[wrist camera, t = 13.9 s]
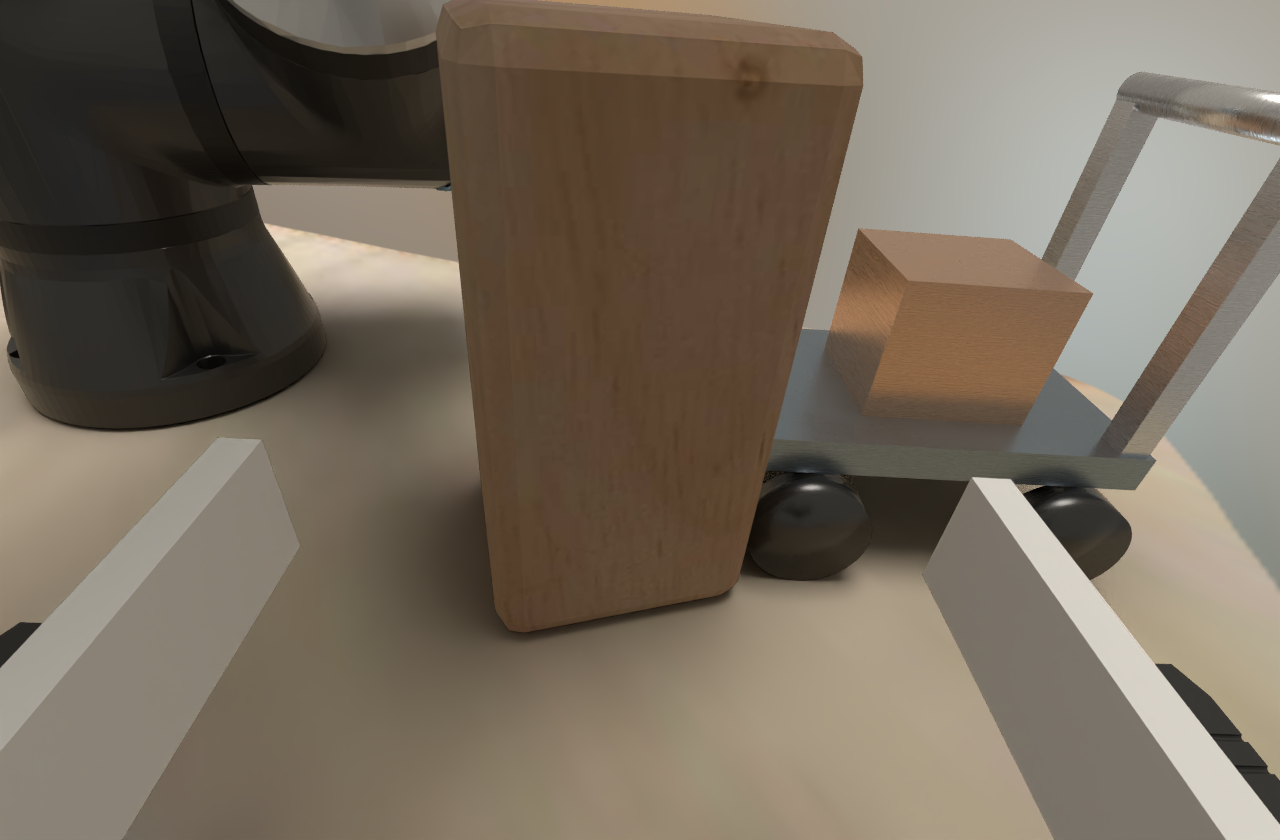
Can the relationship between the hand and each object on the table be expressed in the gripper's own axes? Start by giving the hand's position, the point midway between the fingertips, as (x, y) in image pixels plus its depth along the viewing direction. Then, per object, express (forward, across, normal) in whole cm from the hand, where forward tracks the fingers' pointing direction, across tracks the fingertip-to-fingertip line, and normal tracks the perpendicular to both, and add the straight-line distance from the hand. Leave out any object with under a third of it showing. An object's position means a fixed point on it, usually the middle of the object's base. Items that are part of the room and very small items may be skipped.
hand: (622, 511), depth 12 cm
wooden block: (+11, 0, -12) cm, 17 cm away
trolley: (+15, +14, -12) cm, 24 cm away
